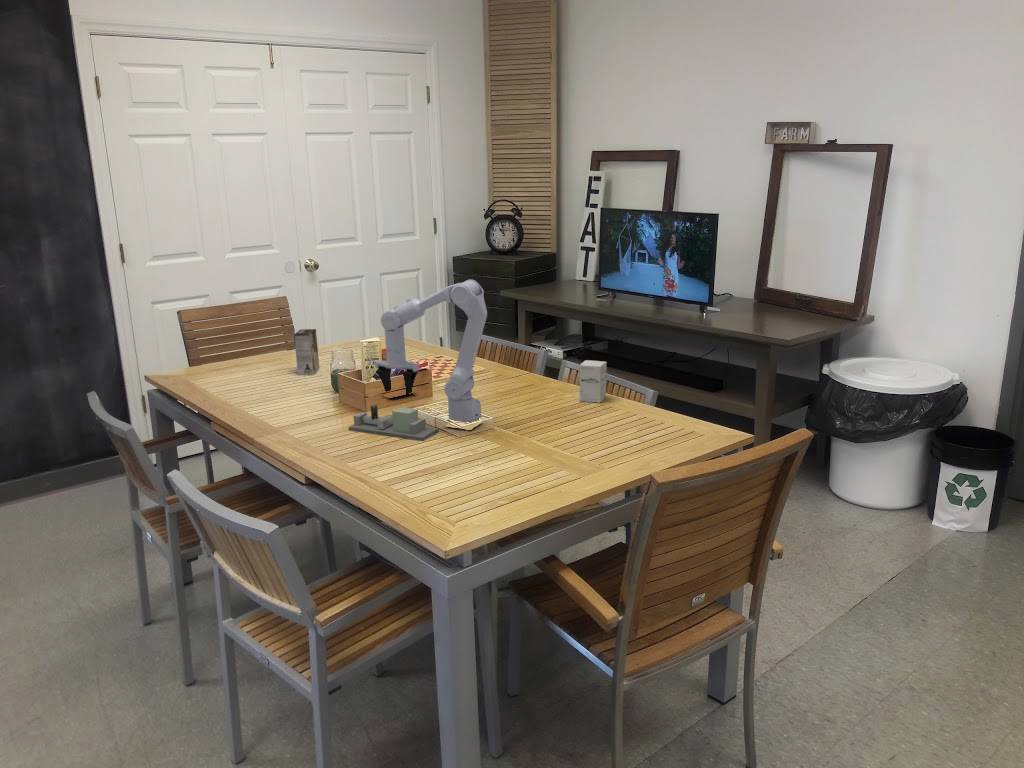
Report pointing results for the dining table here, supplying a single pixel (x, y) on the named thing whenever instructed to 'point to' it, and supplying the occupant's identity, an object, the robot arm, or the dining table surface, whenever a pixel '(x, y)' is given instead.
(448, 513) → the dining table surface
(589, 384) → the supplement box
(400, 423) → the block
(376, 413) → the ram
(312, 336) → the coffee box
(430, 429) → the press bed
